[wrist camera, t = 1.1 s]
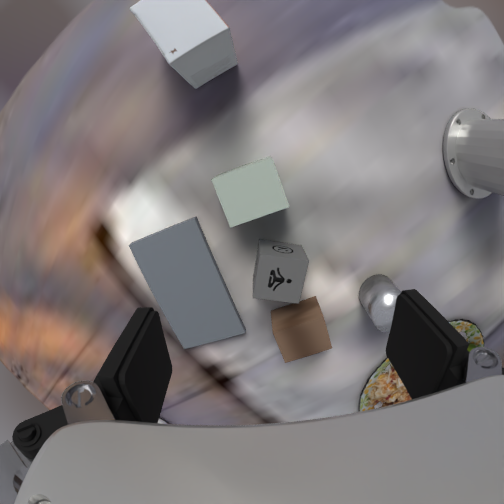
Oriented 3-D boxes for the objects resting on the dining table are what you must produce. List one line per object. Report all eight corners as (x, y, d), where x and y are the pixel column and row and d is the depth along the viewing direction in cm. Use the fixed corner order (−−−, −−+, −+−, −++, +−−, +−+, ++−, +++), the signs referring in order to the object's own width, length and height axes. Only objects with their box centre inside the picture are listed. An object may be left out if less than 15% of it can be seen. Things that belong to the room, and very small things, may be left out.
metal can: (389, 269, 35) (410, 289, 29) (394, 300, 37) (412, 323, 31) (355, 281, 36) (371, 305, 30) (361, 312, 37) (376, 338, 31)
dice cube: (259, 238, 34) (260, 254, 29) (301, 245, 34) (309, 260, 29) (253, 278, 35) (252, 298, 31) (293, 283, 36) (298, 303, 31)
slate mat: (196, 216, 33) (194, 218, 32) (245, 328, 38) (245, 332, 37) (131, 242, 34) (128, 245, 33) (185, 344, 39) (184, 348, 38)
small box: (238, 65, 27) (232, 29, 17) (195, 90, 28) (169, 66, 18) (203, 17, 25) (184, -27, 15) (161, 42, 26) (127, 7, 16)
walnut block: (315, 295, 36) (323, 316, 32) (324, 325, 38) (332, 348, 33) (270, 310, 37) (272, 332, 32) (282, 339, 39) (285, 362, 34)
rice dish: (361, 335, 40) (371, 358, 35) (495, 300, 37) (511, 315, 32) (351, 435, 49) (355, 454, 44) (460, 402, 47) (468, 418, 42)
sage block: (269, 156, 31) (272, 157, 26) (284, 198, 32) (289, 207, 27) (217, 175, 31) (211, 179, 27) (233, 216, 33) (230, 227, 28)
